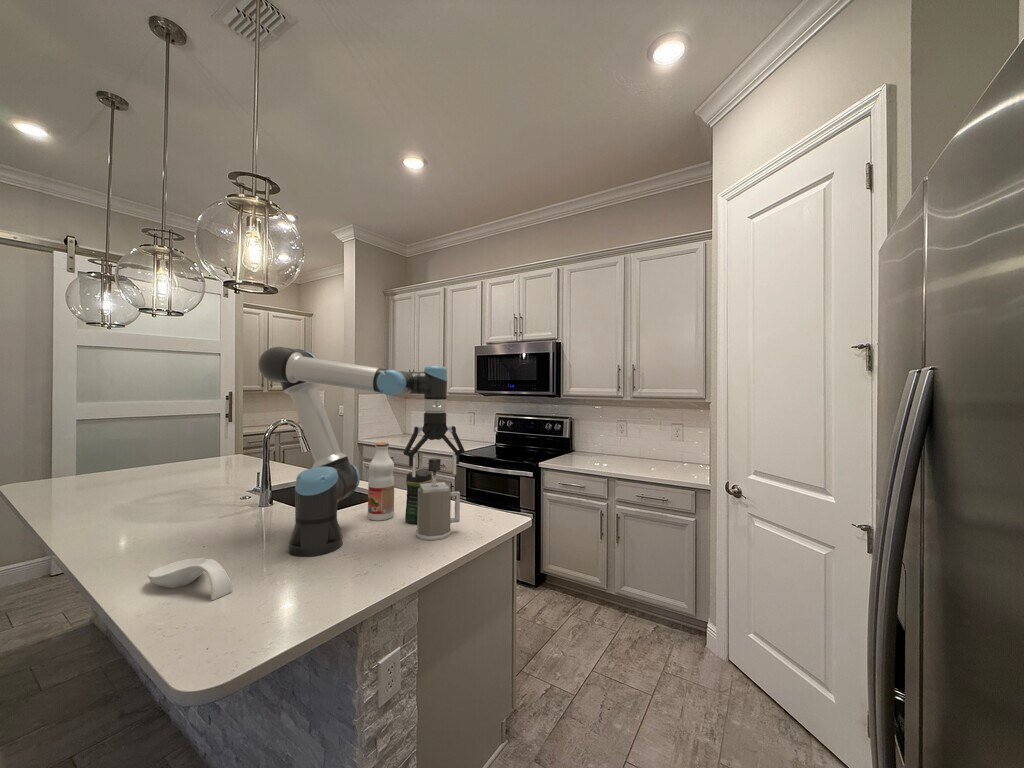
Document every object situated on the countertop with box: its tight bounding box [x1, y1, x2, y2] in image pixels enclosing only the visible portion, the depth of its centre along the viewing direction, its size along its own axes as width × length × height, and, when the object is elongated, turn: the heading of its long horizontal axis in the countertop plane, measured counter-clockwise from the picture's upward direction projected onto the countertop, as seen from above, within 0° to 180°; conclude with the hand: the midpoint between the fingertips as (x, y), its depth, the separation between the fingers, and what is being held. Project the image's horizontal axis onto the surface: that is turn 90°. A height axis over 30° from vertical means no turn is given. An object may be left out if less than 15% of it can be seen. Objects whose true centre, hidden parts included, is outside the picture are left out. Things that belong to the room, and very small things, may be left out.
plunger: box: [427, 457, 442, 487], centre depth 140 cm, size 8×8×20 cm
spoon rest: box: [147, 557, 233, 601], centre depth 103 cm, size 24×12×7 cm, turn 67°
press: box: [415, 481, 461, 541], centre depth 141 cm, size 14×12×16 cm
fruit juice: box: [367, 441, 395, 521], centre depth 158 cm, size 9×9×28 cm
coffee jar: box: [404, 468, 433, 524], centre depth 154 cm, size 10×8×19 cm
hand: (434, 475), depth 140 cm, fingers open, 13 cm apart
